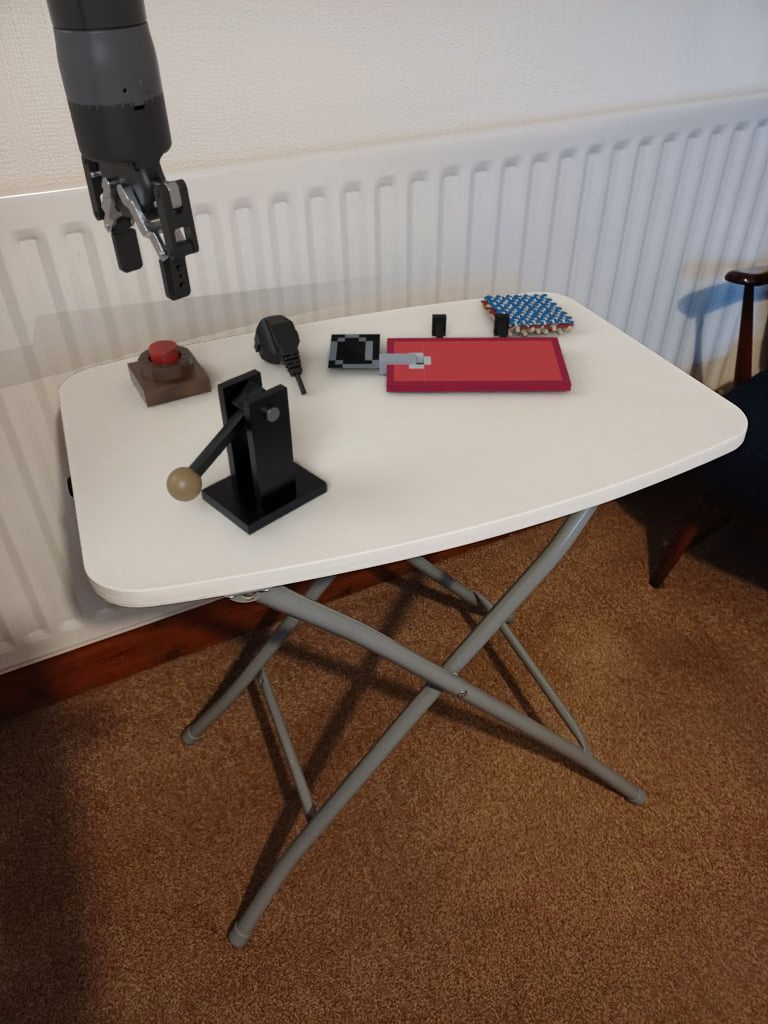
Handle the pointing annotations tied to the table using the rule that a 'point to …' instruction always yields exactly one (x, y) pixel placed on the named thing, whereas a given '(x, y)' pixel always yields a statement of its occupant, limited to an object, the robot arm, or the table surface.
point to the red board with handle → (457, 360)
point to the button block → (168, 378)
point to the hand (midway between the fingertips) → (154, 283)
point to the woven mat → (528, 313)
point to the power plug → (280, 345)
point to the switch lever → (210, 451)
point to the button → (163, 352)
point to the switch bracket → (260, 460)
